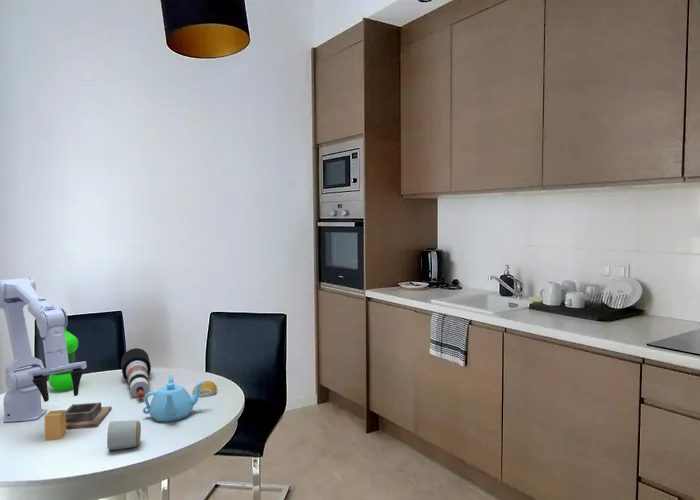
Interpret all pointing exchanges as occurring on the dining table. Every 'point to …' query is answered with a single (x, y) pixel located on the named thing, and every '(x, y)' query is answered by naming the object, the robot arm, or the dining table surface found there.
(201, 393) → the bread roll
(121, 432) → the ceramic mug
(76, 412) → the holder
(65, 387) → the plastic bottle
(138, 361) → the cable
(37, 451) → the dining table surface
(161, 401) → the teapot
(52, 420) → the orange rectangular block
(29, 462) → the dining table surface
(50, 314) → the robot arm
